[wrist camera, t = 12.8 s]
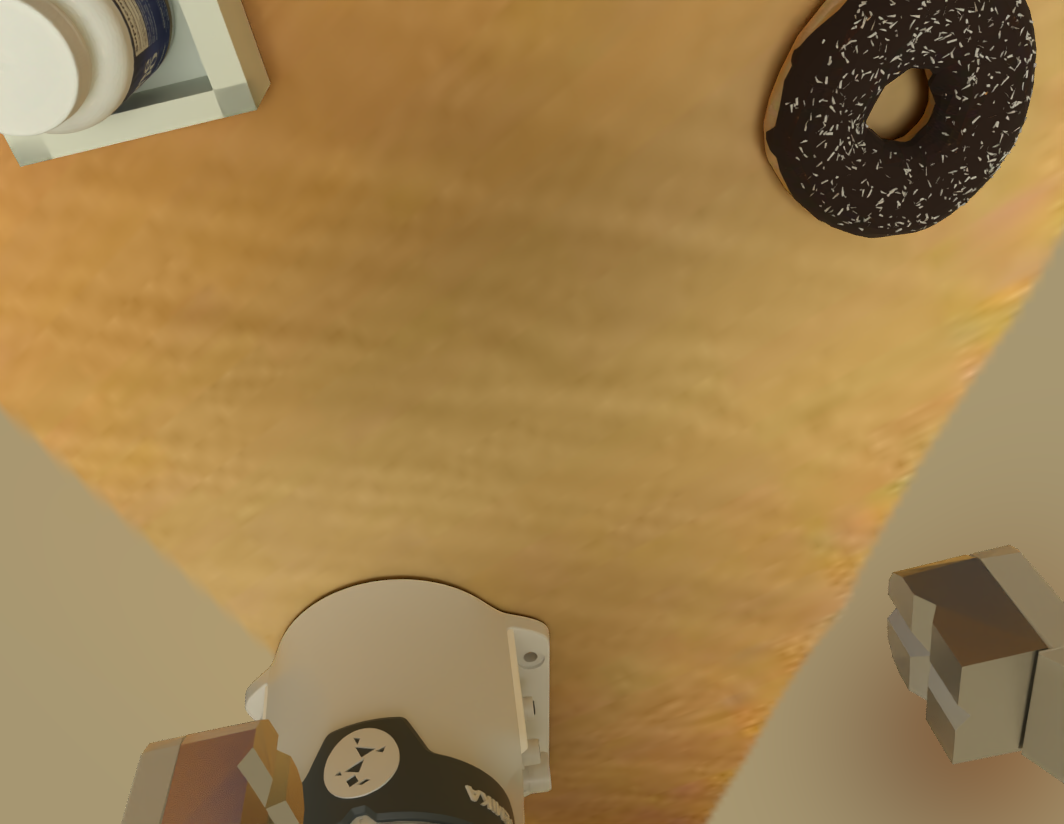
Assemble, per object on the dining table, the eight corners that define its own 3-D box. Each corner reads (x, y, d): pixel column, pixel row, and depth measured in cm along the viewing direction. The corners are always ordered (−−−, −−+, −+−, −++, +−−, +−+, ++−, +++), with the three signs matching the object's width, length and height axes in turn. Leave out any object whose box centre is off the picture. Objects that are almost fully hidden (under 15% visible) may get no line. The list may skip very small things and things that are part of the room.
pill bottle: (83, 105, 36) (-16, 189, 27) (-9, -36, 33) (-150, 10, 25) (206, 51, 35) (143, 120, 27) (123, -98, 32) (24, -71, 24)
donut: (720, 190, 42) (747, 222, 38) (827, -95, 36) (870, -87, 32) (928, 238, 44) (970, 271, 41) (1060, -22, 38) (1122, -6, 35)
